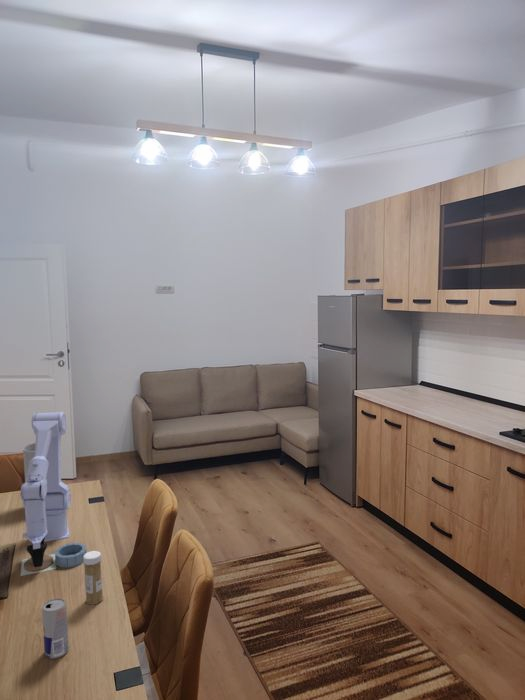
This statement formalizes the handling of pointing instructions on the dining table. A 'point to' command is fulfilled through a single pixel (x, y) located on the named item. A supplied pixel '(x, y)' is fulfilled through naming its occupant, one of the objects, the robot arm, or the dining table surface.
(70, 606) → the dining table surface
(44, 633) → the energy drink
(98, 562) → the sprinkles bottle
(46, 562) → the lid
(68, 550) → the bowl
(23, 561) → the mat
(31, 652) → the dining table surface
